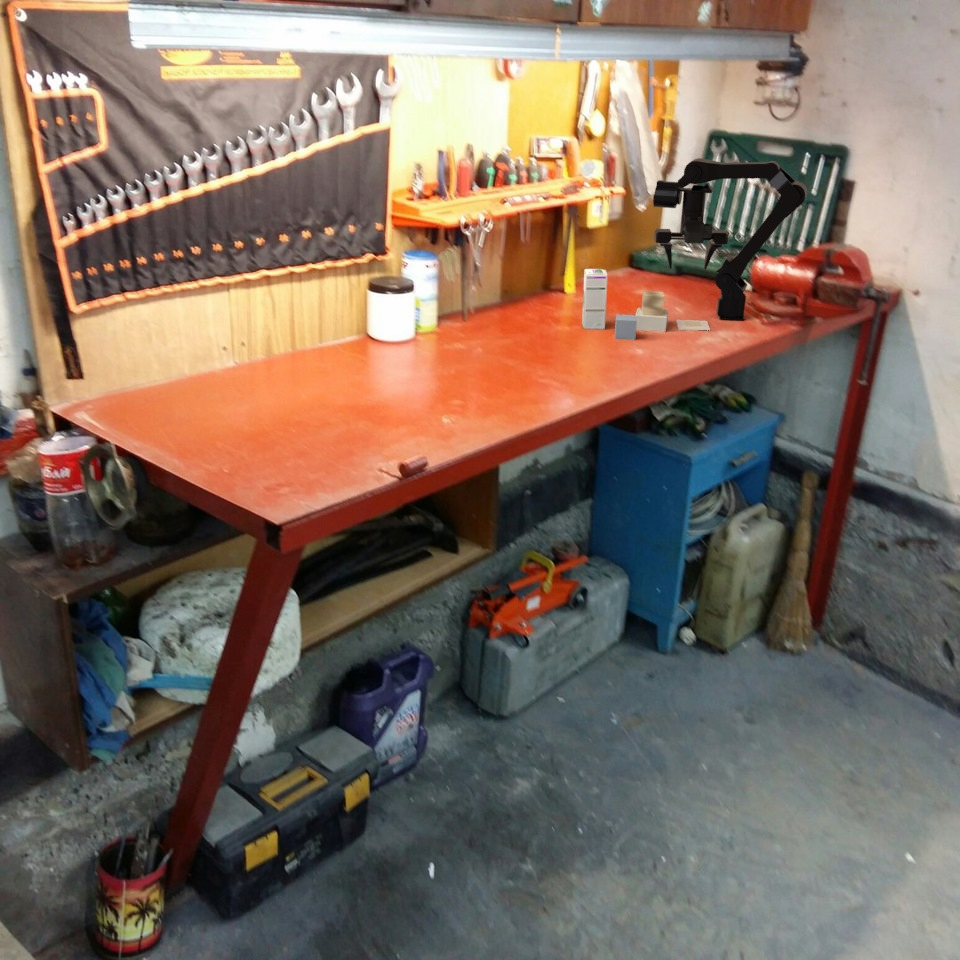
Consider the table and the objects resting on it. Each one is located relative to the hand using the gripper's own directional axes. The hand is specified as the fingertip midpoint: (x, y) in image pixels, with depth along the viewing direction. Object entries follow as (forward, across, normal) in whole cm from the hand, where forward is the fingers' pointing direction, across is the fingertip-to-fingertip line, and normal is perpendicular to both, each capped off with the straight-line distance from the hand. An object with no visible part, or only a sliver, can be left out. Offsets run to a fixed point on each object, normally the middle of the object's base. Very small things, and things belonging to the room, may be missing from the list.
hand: (687, 268), depth 264 cm
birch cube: (+8, -10, -15) cm, 20 cm away
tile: (+12, +1, -13) cm, 18 cm away
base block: (+12, -10, -15) cm, 22 cm away
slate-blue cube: (+12, -18, -25) cm, 33 cm away
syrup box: (+12, -25, -16) cm, 32 cm away
